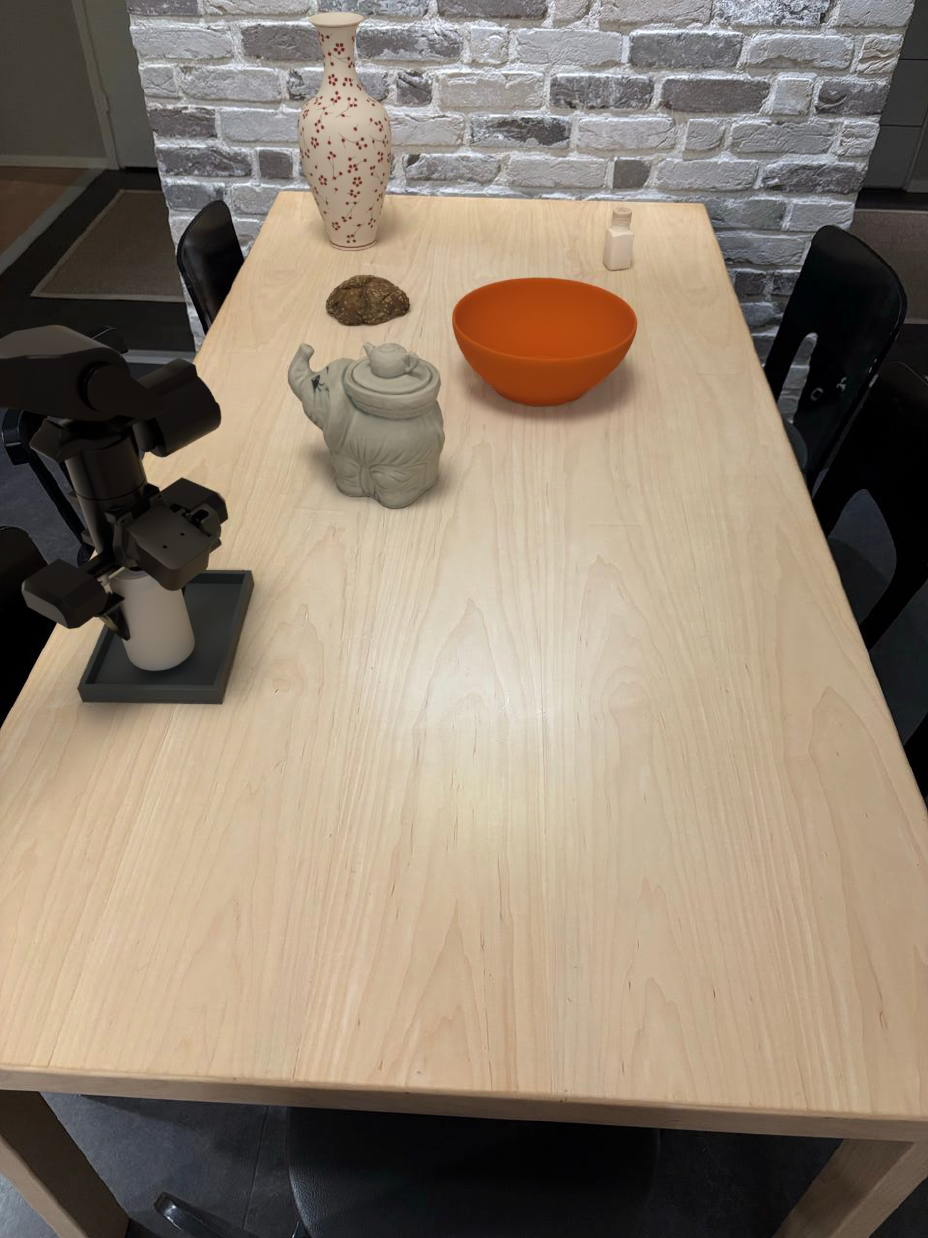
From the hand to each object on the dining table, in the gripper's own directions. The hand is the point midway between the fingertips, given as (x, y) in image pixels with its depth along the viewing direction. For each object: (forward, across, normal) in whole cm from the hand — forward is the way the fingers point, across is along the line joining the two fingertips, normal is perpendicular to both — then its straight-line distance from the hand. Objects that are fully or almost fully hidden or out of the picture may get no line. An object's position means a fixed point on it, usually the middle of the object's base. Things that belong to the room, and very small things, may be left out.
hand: (152, 617), depth 86 cm
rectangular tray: (+6, +3, +2) cm, 7 cm away
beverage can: (+5, 0, 0) cm, 5 cm away
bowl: (+6, +69, -4) cm, 69 cm away
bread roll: (+6, +74, +31) cm, 80 cm away
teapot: (+6, +36, +2) cm, 37 cm away
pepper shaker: (+5, +112, +4) cm, 112 cm away
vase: (+6, +95, +50) cm, 108 cm away
